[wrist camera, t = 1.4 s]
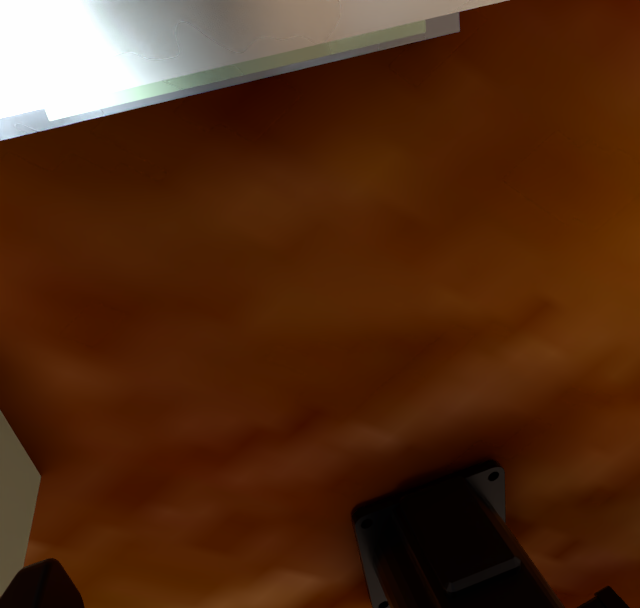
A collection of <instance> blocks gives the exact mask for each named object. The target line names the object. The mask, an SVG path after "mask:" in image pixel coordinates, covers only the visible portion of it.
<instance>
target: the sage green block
mask: <svg viewBox="0 0 640 608" xmlns="http://www.w3.org/2000/svg"><path fill="white" fill-rule="evenodd" d="M40 479H41V475H40V474H39V472H38V471H37V469H36V467H35V466H34V464H33V462H32V461H31V459H30V458H29V456H28V454H27V453H26V451H25V449H24V448H23V446H22V445H21V443H20V441H19V440H18V438H17V436H16V435H15V433H14V432H13V430H12V428H11V427H10V425H9V423H8V422H7V420H6V419H5V417H4V415H3V414H2V412H1V410H0V597H1V596H2V594H3V593H4V591H5V590H6V588H7V587H8V585H9V584H10V582H11V581H12V579H13V578H14V576H15V575H16V574H17V573H18V572H19V571H20V570H21V569H22V568H23V565H24V560H25V555H26V550H27V545H28V540H29V535H30V530H31V525H32V520H33V515H34V510H35V505H36V500H37V495H38V490H39V484H40Z"/></svg>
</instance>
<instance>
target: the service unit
mask: <svg viewBox="0 0 640 608" xmlns="http://www.w3.org/2000/svg"><path fill="white" fill-rule="evenodd" d="M503 1H508V0H0V141H1V140H6V139H10V138H14V137H18V136H22V135H27V134H31V133H35V132H39V131H43V130H48V129H52V128H56V127H60V126H65V125H69V124H73V123H77V122H81V121H86V120H90V119H94V118H98V117H102V116H107V115H111V114H115V113H119V112H123V111H128V110H132V109H136V108H140V107H144V106H149V105H153V104H157V103H161V102H165V101H170V100H174V99H178V98H182V97H186V96H191V95H195V94H199V93H203V92H207V91H212V90H216V89H220V88H224V87H229V86H233V85H237V84H241V83H245V82H250V81H254V80H258V79H262V78H266V77H271V76H275V75H279V74H283V73H287V72H292V71H296V70H300V69H304V68H308V67H313V66H317V65H321V64H325V63H329V62H334V61H338V60H342V59H346V58H350V57H355V56H359V55H363V54H367V53H371V52H376V51H380V50H384V49H388V48H393V47H397V46H401V45H405V44H409V43H414V42H418V41H422V40H426V39H430V38H435V37H439V36H443V35H447V34H451V33H456V32H460V23H459V12H460V11H465V10H469V9H473V8H478V7H482V6H486V5H491V4H495V3H499V2H503Z"/></svg>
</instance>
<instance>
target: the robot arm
mask: <svg viewBox="0 0 640 608" xmlns="http://www.w3.org/2000/svg"><path fill="white" fill-rule="evenodd" d="M352 524H353V528H354V533H355V537H356V541H357V546H358V550H359V555H360V559H361V563H362V568H363V572H364V577H365V581H366V585H367V590H368V594H369V599H370V602H371V605H372V607H373V608H565V607H564V605H563V604H562V603H561V601H560V600H559V598H558V597H557V596H556V594H555V593H554V591H553V590H552V589H551V587H550V586H549V584H548V583H547V582H546V580H545V579H544V577H543V576H542V575H541V573H540V572H539V570H538V569H537V568H536V566H535V565H534V563H533V562H532V560H531V559H530V558H529V556H528V555H527V553H526V552H525V551H524V549H523V548H522V546H521V545H520V544H519V542H518V541H517V539H516V538H515V537H514V535H513V534H512V532H511V531H510V530H509V528H508V527H507V525H506V524H505V472H504V469H503V468H502V467H501V465H500V464H499V463H498V462H497V461H495V460H490V461H486V462H484V463H481V464H478V465H476V466H473V467H470V468H468V469H465V470H462V471H459V472H457V473H454V474H451V475H449V476H446V477H443V478H440V479H438V480H435V481H432V482H430V483H427V484H424V485H421V486H419V487H416V488H413V489H411V490H408V491H405V492H403V493H400V494H397V495H394V496H392V497H389V498H386V499H384V500H381V501H378V502H375V503H373V504H370V505H367V506H365V507H362V508H360V509H358V510H357V511H356V512H355V513H354V514H353V516H352ZM0 608H84V603H83V600H82V597H81V595H80V593H79V591H78V590H77V588H76V587H75V585H74V584H73V582H72V580H71V579H70V577H69V576H68V574H67V573H66V571H65V570H64V568H63V567H62V565H61V564H60V563H59V562H58V561H57V560H56V559H53V558H50V559H46V560H43V561H40V562H37V563H34V564H32V565H29V566H26V567H24V568H22V569H21V570H20V571H19V572H18V573H17V574H16V575H15V576H14V578H13V579H12V581H11V582H10V584H9V585H8V587H7V588H6V590H5V591H4V593H3V594H2V596H1V597H0ZM577 608H630V607H629V606H628V605H627V604H626V603H625V602H624V601H623V600H622V599H621V598H620V597H619V596H618V595H617V594H616V593H615V592H614V591H613V590H612V588H611V587H609V586H607V587H605V588H603V589H601V590H600V591H598V592H596V593H595V597H594V598H592V599H591V600H589V601H587V602H586V603H584V604H582V605H580V606H579V607H577Z"/></svg>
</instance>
